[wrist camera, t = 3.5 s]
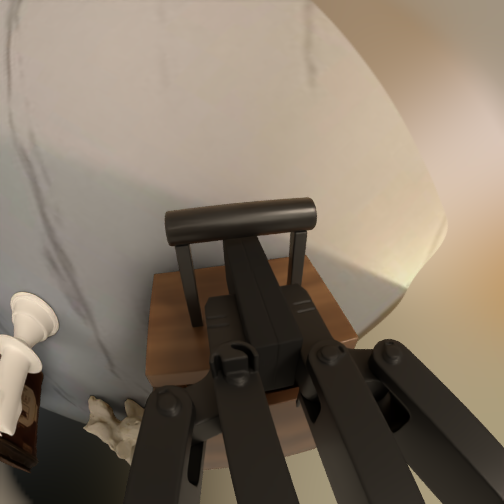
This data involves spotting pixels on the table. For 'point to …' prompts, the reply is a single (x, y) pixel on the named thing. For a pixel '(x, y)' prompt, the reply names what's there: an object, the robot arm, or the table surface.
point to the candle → (22, 353)
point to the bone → (115, 426)
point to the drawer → (214, 283)
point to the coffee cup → (24, 428)
